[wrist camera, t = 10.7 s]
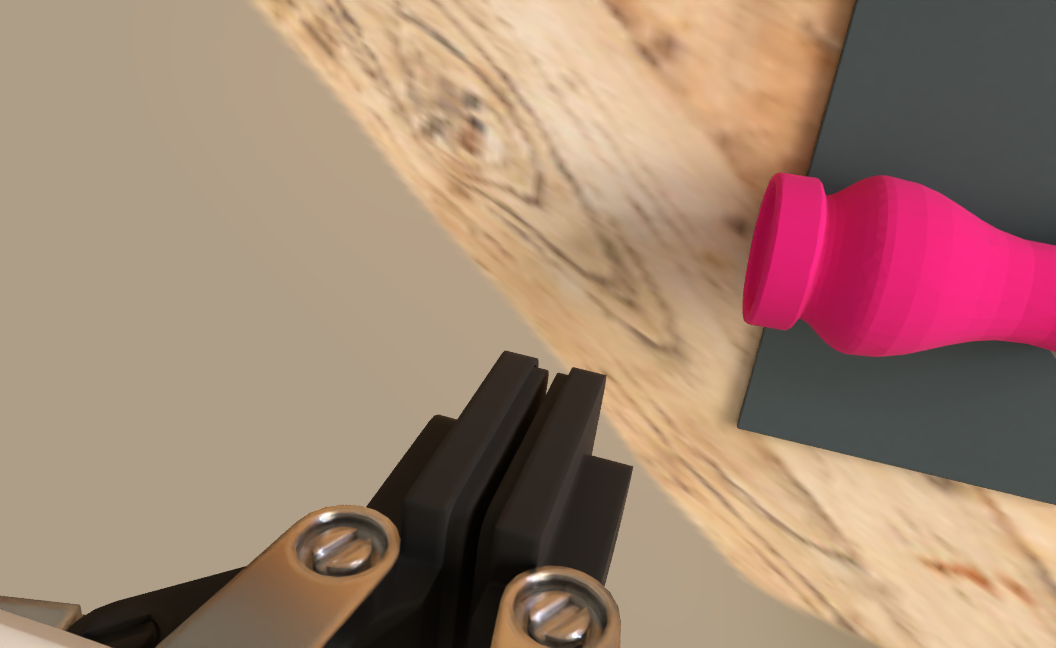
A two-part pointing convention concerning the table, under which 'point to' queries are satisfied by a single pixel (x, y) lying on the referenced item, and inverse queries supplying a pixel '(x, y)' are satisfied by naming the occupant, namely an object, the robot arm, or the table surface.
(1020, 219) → the mat
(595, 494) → the robot arm
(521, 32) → the table surface
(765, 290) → the pepper mill
